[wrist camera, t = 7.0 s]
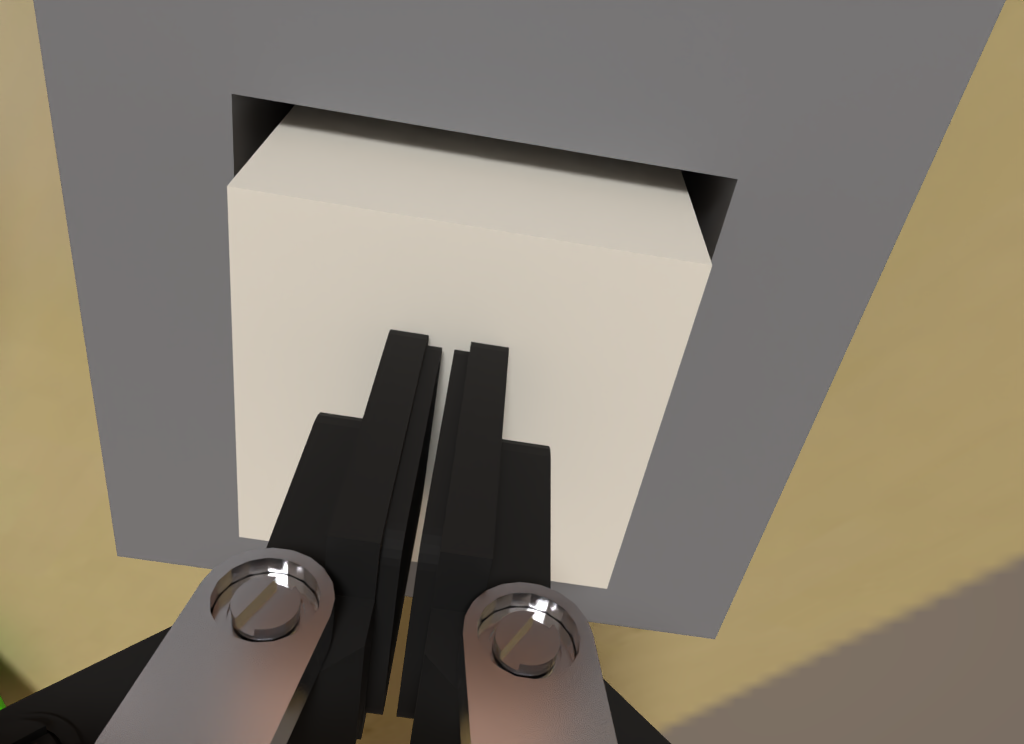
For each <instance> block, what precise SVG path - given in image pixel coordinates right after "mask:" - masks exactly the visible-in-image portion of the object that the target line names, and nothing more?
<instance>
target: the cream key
mask: <svg viewBox="0 0 1024 744" xmlns="http://www.w3.org/2000/svg"><path fill="white" fill-rule="evenodd" d="M227 200H228V229H229V258H230V287H231V315H232V344H233V373H234V402H235V431H236V460H237V489H238V518H239V537H243V538H250V539H258V540H265V541H269V539H270V537H271V534H272V531H273V529H274V526H275V523H276V521H277V518H278V516H279V513H280V510H281V508H282V505H283V502H284V500H285V497H286V495H287V492H288V489H289V487H290V484H291V481H292V479H293V476H294V474H295V471H296V468H297V466H298V463H299V460H300V458H301V455H302V453H303V450H304V447H305V445H306V442H307V439H308V437H309V434H310V432H311V429H312V426H313V424H314V421H315V419H316V417H317V415H318V414H319V413H320V412H323V413H330V414H337V415H343V416H350V417H357V418H363V416H364V412H365V409H366V406H367V402H368V399H369V396H370V393H371V389H372V386H373V383H374V379H375V376H376V373H377V370H378V366H379V363H380V360H381V356H382V353H383V350H384V347H385V343H386V340H387V337H388V334H389V331H390V329H393V330H399V331H406V332H412V333H419V334H425V335H429V341H428V345H429V346H436V347H442V356H441V363H440V371H439V378H438V386H437V393H436V401H435V409H434V416H433V424H432V431H431V439H430V446H429V454H428V461H427V469H426V476H425V484H424V491H423V498H422V504H421V510H420V516H419V521H418V527H417V532H416V538H415V543H414V549H413V554H412V559H411V561H413V562H418V556H419V549H420V543H421V537H422V531H423V525H424V519H425V513H426V508H427V502H428V496H429V491H430V485H431V479H432V474H433V468H434V462H435V457H436V451H437V445H438V440H439V434H440V428H441V423H442V417H443V411H444V406H445V400H446V394H447V389H448V383H449V377H450V372H451V366H452V360H453V355H454V350H462V351H468V352H470V346H471V342H477V343H483V344H490V345H496V346H503V347H509V356H508V369H507V382H506V395H505V407H504V420H503V433H502V439H505V440H512V441H519V442H526V443H532V444H539V445H546V446H549V447H550V451H551V581H555V582H562V583H569V584H576V585H583V586H590V587H597V588H604V589H607V587H608V584H609V581H610V578H611V575H612V572H613V569H614V565H615V562H616V559H617V556H618V553H619V550H620V547H621V544H622V541H623V538H624V535H625V532H626V529H627V526H628V523H629V519H630V516H631V513H632V510H633V507H634V504H635V501H636V498H637V495H638V492H639V489H640V486H641V483H642V480H643V477H644V473H645V470H646V467H647V464H648V461H649V458H650V455H651V452H652V449H653V446H654V443H655V440H656V437H657V434H658V431H659V427H660V424H661V421H662V418H663V415H664V412H665V409H666V406H667V403H668V400H669V397H670V394H671V391H672V388H673V385H674V381H675V378H676V375H677V372H678V369H679V366H680V363H681V360H682V357H683V354H684V351H685V348H686V345H687V342H688V339H689V335H690V332H691V329H692V326H693V323H694V320H695V317H696V314H697V311H698V308H699V305H700V302H701V299H702V296H703V293H704V289H705V286H706V283H707V280H708V277H709V274H710V271H711V268H712V263H711V260H710V257H709V254H708V251H707V248H706V245H705V242H704V239H703V236H702V233H701V230H700V227H699V224H698V221H697V218H696V215H695V212H694V209H693V206H692V203H691V200H690V197H689V194H688V191H687V188H686V185H685V182H684V179H683V176H682V173H681V170H680V169H674V168H668V167H662V166H656V165H650V164H645V163H639V162H633V161H627V160H621V159H615V158H609V157H603V156H597V155H591V154H585V153H579V152H574V151H568V150H562V149H556V148H550V147H544V146H538V145H532V144H526V143H520V142H514V141H508V140H503V139H497V138H491V137H485V136H479V135H473V134H467V133H461V132H455V131H449V130H443V129H437V128H432V127H426V126H420V125H414V124H408V123H402V122H396V121H390V120H384V119H378V118H372V117H366V116H361V115H355V114H349V113H343V112H337V111H331V110H325V109H319V108H313V107H307V106H301V105H295V106H294V107H293V108H292V109H291V110H290V111H289V113H288V114H287V115H286V116H285V117H284V119H283V120H282V121H281V122H280V123H279V125H278V126H277V127H276V128H275V129H274V131H273V132H272V133H271V134H270V135H269V137H268V138H267V139H266V140H265V141H264V143H263V144H262V145H261V146H260V147H259V149H258V150H257V151H256V152H255V153H254V154H253V156H252V157H251V158H250V159H249V160H248V162H247V163H246V164H245V165H244V166H243V168H242V169H241V170H240V171H239V172H238V174H237V175H236V176H235V177H234V178H233V180H232V181H231V182H230V183H229V184H228V186H227Z"/></svg>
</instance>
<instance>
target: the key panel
mask: <svg viewBox="0 0 1024 744" xmlns="http://www.w3.org/2000/svg"><path fill="white" fill-rule="evenodd" d="M33 1H34V8H35V14H36V21H37V28H38V34H39V41H40V47H41V54H42V61H43V67H44V74H45V80H46V87H47V94H48V100H49V107H50V113H51V120H52V127H53V133H54V140H55V147H56V153H57V160H58V166H59V173H60V180H61V186H62V193H63V199H64V206H65V213H66V219H67V226H68V232H69V239H70V246H71V252H72V259H73V265H74V272H75V279H76V285H77V292H78V298H79V305H80V312H81V318H82V325H83V331H84V338H85V345H86V351H87V358H88V364H89V371H90V378H91V384H92V391H93V398H94V404H95V411H96V417H97V424H98V431H99V437H100V444H101V450H102V457H103V464H104V470H105V477H106V483H107V490H108V497H109V503H110V510H111V516H112V523H113V530H114V536H115V543H116V549H117V556H121V557H128V558H135V559H142V560H150V561H157V562H164V563H171V564H178V565H186V566H193V567H200V568H207V569H214V568H215V567H216V566H217V565H219V564H221V563H222V562H224V561H225V560H227V559H229V558H230V557H232V556H234V555H237V554H241V553H244V552H247V551H250V550H254V549H264V548H266V547H267V545H268V542H269V541H265V540H258V539H250V538H243V537H239V518H238V489H237V460H236V431H235V402H234V373H233V344H232V315H231V287H230V258H229V229H228V200H227V186H228V184H229V183H230V182H231V181H232V180H233V178H234V177H235V176H236V175H237V174H238V172H239V171H240V170H241V169H242V168H243V166H244V165H245V164H246V163H247V162H248V160H249V159H250V158H251V157H252V156H253V154H254V153H255V152H256V151H257V150H258V149H259V147H260V146H261V145H262V144H263V143H264V141H265V140H266V139H267V138H268V137H269V135H270V134H271V133H272V132H273V131H274V129H275V128H276V127H277V126H278V125H279V123H280V122H281V121H282V120H283V119H284V117H285V116H286V115H287V114H288V113H289V111H290V110H291V109H292V108H293V107H294V106H295V105H301V106H307V107H313V108H319V109H325V110H331V111H337V112H343V113H349V114H355V115H361V116H366V117H372V118H378V119H384V120H390V121H396V122H402V123H408V124H414V125H420V126H426V127H432V128H437V129H443V130H449V131H455V132H461V133H467V134H473V135H479V136H485V137H491V138H497V139H503V140H508V141H514V142H520V143H526V144H532V145H538V146H544V147H550V148H556V149H562V150H568V151H574V152H579V153H585V154H591V155H597V156H603V157H609V158H615V159H621V160H627V161H633V162H639V163H645V164H650V165H656V166H662V167H668V168H674V169H680V170H681V173H682V176H683V179H684V182H685V185H686V188H687V191H688V194H689V197H690V200H691V203H692V206H693V209H694V212H695V215H696V218H697V221H698V224H699V227H700V230H701V233H702V236H703V239H704V242H705V245H706V248H707V251H708V254H709V257H710V260H711V263H712V268H711V271H710V274H709V277H708V280H707V283H706V286H705V289H704V293H703V296H702V299H701V302H700V305H699V308H698V311H697V314H696V317H695V320H694V323H693V326H692V329H691V332H690V335H689V339H688V342H687V345H686V348H685V351H684V354H683V357H682V360H681V363H680V366H679V369H678V372H677V375H676V378H675V381H674V385H673V388H672V391H671V394H670V397H669V400H668V403H667V406H666V409H665V412H664V415H663V418H662V421H661V424H660V427H659V431H658V434H657V437H656V440H655V443H654V446H653V449H652V452H651V455H650V458H649V461H648V464H647V467H646V470H645V473H644V477H643V480H642V483H641V486H640V489H639V492H638V495H637V498H636V501H635V504H634V507H633V510H632V513H631V516H630V519H629V523H628V526H627V529H626V532H625V535H624V538H623V541H622V544H621V547H620V550H619V553H618V556H617V559H616V562H615V565H614V569H613V572H612V575H611V578H610V581H609V584H608V587H607V589H604V588H597V587H590V586H583V585H576V584H569V583H562V582H555V581H551V589H552V590H555V591H557V592H559V593H561V594H562V595H563V596H565V597H566V598H568V599H569V600H570V601H572V602H573V603H575V605H576V606H577V607H578V608H579V610H580V611H581V612H582V613H583V614H584V616H585V617H586V618H587V621H588V622H595V623H603V624H610V625H617V626H624V627H631V628H639V629H646V630H653V631H660V632H667V633H675V634H682V635H689V636H696V637H703V638H711V639H715V638H716V636H717V634H718V631H719V629H720V627H721V625H722V623H723V620H724V618H725V616H726V614H727V612H728V609H729V607H730V605H731V603H732V601H733V598H734V596H735V594H736V592H737V590H738V587H739V585H740V583H741V581H742V579H743V576H744V574H745V572H746V570H747V568H748V565H749V563H750V561H751V559H752V557H753V554H754V552H755V550H756V548H757V546H758V543H759V541H760V539H761V537H762V535H763V532H764V530H765V528H766V526H767V524H768V521H769V519H770V517H771V515H772V513H773V511H774V508H775V506H776V504H777V502H778V500H779V497H780V495H781V493H782V491H783V489H784V486H785V484H786V482H787V480H788V478H789V475H790V473H791V471H792V469H793V467H794V464H795V462H796V460H797V458H798V456H799V453H800V451H801V449H802V447H803V445H804V442H805V440H806V438H807V436H808V434H809V431H810V429H811V427H812V425H813V423H814V420H815V418H816V416H817V414H818V412H819V409H820V407H821V405H822V403H823V401H824V398H825V396H826V394H827V392H828V390H829V387H830V385H831V383H832V381H833V379H834V376H835V374H836V372H837V370H838V368H839V365H840V363H841V361H842V359H843V357H844V355H845V352H846V350H847V348H848V346H849V344H850V341H851V339H852V337H853V335H854V333H855V330H856V328H857V326H858V324H859V322H860V319H861V317H862V315H863V313H864V311H865V308H866V306H867V304H868V302H869V300H870V297H871V295H872V293H873V291H874V289H875V286H876V284H877V282H878V280H879V278H880V275H881V273H882V271H883V269H884V267H885V264H886V262H887V260H888V258H889V256H890V253H891V251H892V249H893V247H894V245H895V242H896V240H897V238H898V236H899V234H900V231H901V229H902V227H903V225H904V223H905V220H906V218H907V216H908V214H909V212H910V209H911V207H912V205H913V203H914V201H915V199H916V196H917V194H918V192H919V190H920V188H921V185H922V183H923V181H924V179H925V177H926V174H927V172H928V170H929V168H930V166H931V163H932V161H933V159H934V157H935V155H936V152H937V150H938V148H939V146H940V144H941V141H942V139H943V137H944V135H945V133H946V130H947V128H948V126H949V124H950V122H951V119H952V117H953V115H954V113H955V111H956V108H957V106H958V104H959V102H960V100H961V97H962V95H963V93H964V91H965V89H966V86H967V84H968V82H969V80H970V78H971V75H972V73H973V71H974V69H975V67H976V64H977V62H978V60H979V58H980V56H981V53H982V51H983V49H984V47H985V45H986V43H987V40H988V38H989V36H990V34H991V32H992V29H993V27H994V25H995V23H996V21H997V18H998V16H999V14H1000V12H1001V10H1002V7H1003V5H1004V3H1005V1H1006V0H33ZM416 569H417V562H413V561H411V565H410V570H409V576H408V581H407V587H406V592H405V596H409V597H413V591H414V584H415V577H416Z"/></svg>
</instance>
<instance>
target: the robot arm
mask: <svg viewBox="0 0 1024 744" xmlns="http://www.w3.org/2000/svg"><path fill="white" fill-rule="evenodd" d="M428 341H429V335H425V334H419V333H412V332H406V331H399V330H393V329H390V331H389V334H388V337H387V340H386V343H385V347H384V350H383V353H382V356H381V360H380V363H379V366H378V370H377V373H376V376H375V379H374V383H373V386H372V389H371V393H370V396H369V399H368V402H367V406H366V409H365V412H364V416H363V418H357V417H350V416H343V415H337V414H330V413H323V412H320V413H319V414H318V415H317V417H316V419H315V421H314V424H313V426H312V429H311V432H310V434H309V437H308V439H307V442H306V445H305V447H304V450H303V453H302V455H301V458H300V460H299V463H298V466H297V468H296V471H295V474H294V476H293V479H292V481H291V484H290V487H289V489H288V492H287V495H286V497H285V500H284V502H283V505H282V508H281V510H280V513H279V516H278V518H277V521H276V523H275V526H274V529H273V531H272V534H271V537H270V539H269V542H268V545H267V547H266V548H264V549H254V550H250V551H247V552H244V553H241V554H237V555H234V556H232V557H230V558H229V559H227V560H225V561H224V562H222V563H221V564H219V565H217V566H216V567H215V568H214V569H213V570H212V571H211V572H210V573H209V574H208V575H207V576H206V577H205V578H204V580H203V581H202V582H201V583H200V585H199V586H198V588H197V589H196V591H195V592H194V594H193V596H192V597H191V599H190V600H189V602H188V603H187V605H186V606H185V608H184V609H183V611H182V612H181V614H180V615H179V617H178V618H177V620H176V621H175V623H174V624H173V626H171V627H169V628H167V629H165V630H163V631H161V632H159V633H157V634H155V635H153V636H151V637H149V638H147V639H145V640H143V641H141V642H138V643H136V644H134V645H132V646H130V647H128V648H126V649H124V650H122V651H120V652H118V653H116V654H114V655H112V656H110V657H108V658H106V659H104V660H102V661H100V662H97V663H95V664H93V665H91V666H89V667H87V668H85V669H83V670H81V671H79V672H77V673H75V674H73V675H71V676H69V677H67V678H65V679H63V680H61V681H59V682H57V683H54V684H52V685H50V686H48V687H46V688H44V689H42V690H40V691H38V692H36V693H34V694H32V695H30V696H28V697H26V698H24V699H22V700H20V701H18V702H16V703H14V704H11V705H9V706H7V707H5V708H3V709H1V710H0V744H356V739H361V737H362V732H363V727H364V722H365V717H366V713H374V714H381V715H383V711H384V706H385V701H386V695H387V690H388V684H389V679H390V673H391V668H392V663H393V657H394V652H395V646H396V641H397V635H398V630H399V625H400V619H401V614H402V608H403V603H404V597H405V592H406V587H407V581H408V576H409V570H410V565H411V559H412V554H413V549H414V543H415V538H416V532H417V527H418V521H419V516H420V510H421V504H422V498H423V491H424V484H425V476H426V469H427V461H428V454H429V446H430V439H431V431H432V424H433V416H434V409H435V401H436V393H437V386H438V378H439V371H440V363H441V356H442V347H436V346H429V345H428ZM508 356H509V347H503V346H496V345H490V344H483V343H477V342H471V346H470V352H468V351H462V350H454V355H453V360H452V366H451V372H450V377H449V383H448V389H447V394H446V400H445V406H444V411H443V417H442V423H441V428H440V434H439V440H438V445H437V451H436V457H435V462H434V468H433V474H432V479H431V485H430V491H429V496H428V502H427V508H426V513H425V519H424V525H423V531H422V537H421V543H420V549H419V556H418V562H417V569H416V577H415V584H414V591H413V599H412V606H411V614H410V621H409V628H408V636H407V643H406V650H405V658H404V665H403V672H402V680H401V687H400V694H399V702H398V709H397V717H405V718H412V719H414V721H413V728H412V735H411V741H410V744H671V743H670V742H669V741H668V740H667V739H665V738H664V737H663V736H662V735H661V734H660V733H659V732H658V731H657V730H656V729H655V728H654V727H653V726H652V725H651V724H650V723H649V722H648V721H647V720H646V719H645V718H644V717H643V716H642V715H640V714H639V713H638V712H637V711H636V710H635V709H634V708H633V707H632V706H631V705H630V704H629V703H628V702H627V701H626V700H625V699H624V698H623V697H622V696H621V695H620V694H619V693H618V692H617V691H615V690H614V689H613V688H612V687H611V686H610V685H609V684H608V683H607V682H606V681H605V680H604V679H603V677H602V672H601V668H600V663H599V659H598V654H597V650H596V645H595V641H594V636H593V633H592V631H591V628H590V626H589V623H588V621H587V618H586V617H585V616H584V614H583V613H582V612H581V611H580V610H579V608H578V607H577V606H576V605H575V603H573V602H572V601H570V600H569V599H568V598H566V597H565V596H563V595H562V594H561V593H559V592H557V591H555V590H552V589H551V451H550V447H549V446H546V445H539V444H532V443H526V442H519V441H512V440H505V439H502V433H503V420H504V407H505V395H506V382H507V369H508Z"/></svg>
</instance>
